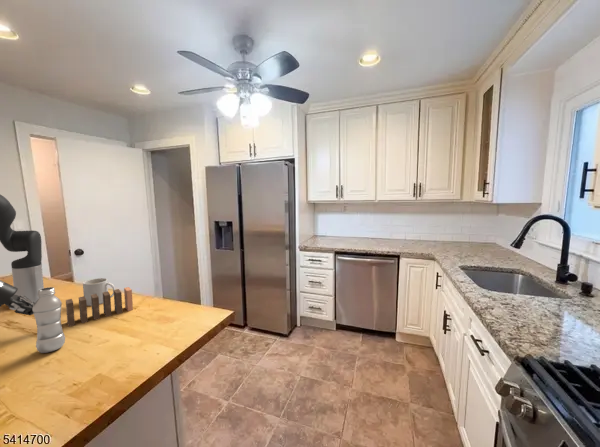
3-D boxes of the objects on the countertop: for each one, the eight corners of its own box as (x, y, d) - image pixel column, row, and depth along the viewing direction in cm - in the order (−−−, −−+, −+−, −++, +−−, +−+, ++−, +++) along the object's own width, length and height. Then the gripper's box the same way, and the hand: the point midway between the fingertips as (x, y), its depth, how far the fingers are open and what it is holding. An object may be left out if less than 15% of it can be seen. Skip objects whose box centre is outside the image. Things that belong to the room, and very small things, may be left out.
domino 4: (106, 316, 104) (104, 295, 103) (103, 313, 107) (102, 292, 106) (111, 315, 105) (110, 294, 104) (109, 311, 108) (107, 291, 108)
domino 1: (68, 326, 95) (66, 303, 95) (67, 322, 99) (65, 299, 98) (74, 325, 97) (73, 302, 96) (73, 320, 100) (71, 298, 99)
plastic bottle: (70, 346, 83) (65, 286, 81) (44, 358, 77) (38, 294, 75) (58, 342, 85) (53, 284, 83) (31, 353, 79) (25, 291, 77)
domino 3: (94, 320, 101) (92, 298, 100) (92, 315, 104) (90, 294, 103) (100, 318, 102) (98, 297, 101) (97, 314, 106) (96, 293, 105)
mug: (79, 303, 116) (78, 282, 115) (102, 296, 125) (101, 276, 124) (94, 308, 112) (93, 286, 111) (117, 300, 120) (115, 279, 120)
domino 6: (128, 311, 109) (126, 290, 108) (125, 307, 113) (124, 288, 112) (132, 309, 110) (131, 289, 110) (129, 306, 114) (128, 287, 113)
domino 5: (117, 313, 106) (116, 293, 106) (114, 310, 110) (113, 290, 109) (122, 312, 108) (121, 292, 107) (119, 308, 111) (118, 289, 110)
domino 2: (81, 323, 98) (80, 300, 97) (80, 319, 102) (78, 297, 101) (87, 321, 99) (86, 299, 99) (86, 317, 103) (84, 296, 102)
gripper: (1, 286, 80) (57, 311, 90) (4, 277, 89) (55, 301, 99) (-24, 307, 77) (37, 331, 87) (-18, 295, 86) (37, 318, 96)
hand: (47, 315), depth 93 cm, fingers closed
